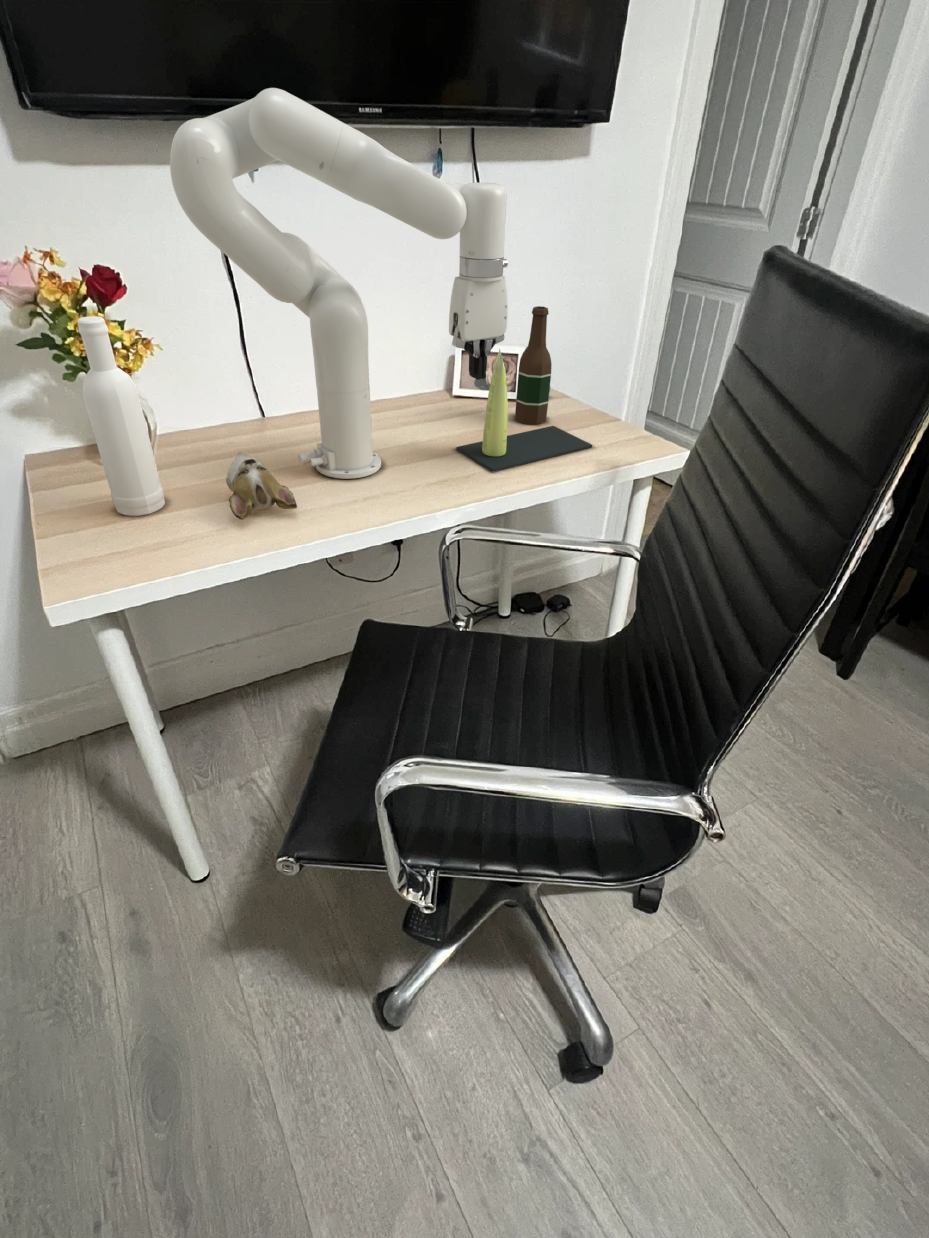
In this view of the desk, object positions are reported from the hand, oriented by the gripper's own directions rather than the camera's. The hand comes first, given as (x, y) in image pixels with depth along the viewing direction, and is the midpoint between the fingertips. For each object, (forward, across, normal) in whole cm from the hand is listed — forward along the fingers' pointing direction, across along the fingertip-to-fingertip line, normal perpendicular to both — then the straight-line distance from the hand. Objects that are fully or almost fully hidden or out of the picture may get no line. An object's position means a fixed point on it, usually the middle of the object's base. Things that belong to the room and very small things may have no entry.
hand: (477, 377), depth 128 cm
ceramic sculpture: (+16, +44, -2) cm, 47 cm away
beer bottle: (+17, -25, -14) cm, 33 cm away
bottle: (+16, +61, -12) cm, 64 cm away
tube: (+16, -5, 0) cm, 17 cm away
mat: (+17, -13, 0) cm, 21 cm away
